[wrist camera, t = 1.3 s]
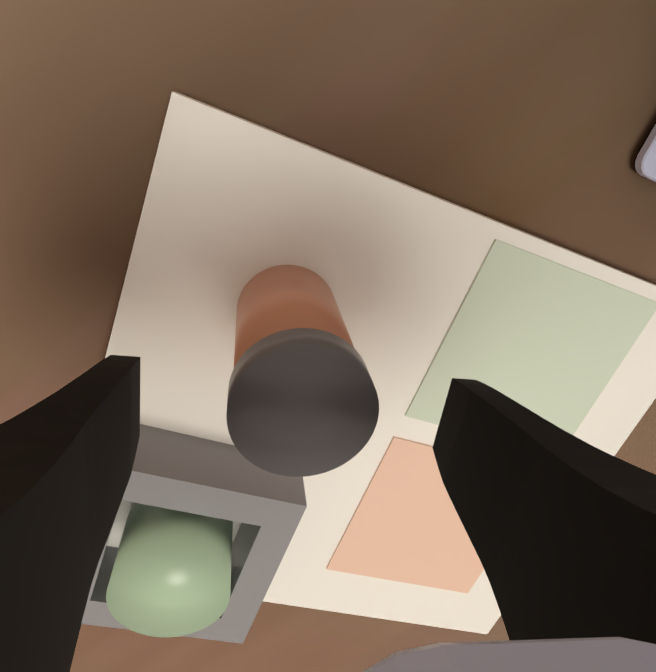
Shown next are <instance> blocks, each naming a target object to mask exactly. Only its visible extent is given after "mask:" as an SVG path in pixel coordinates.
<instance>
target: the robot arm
mask: <svg viewBox="0 0 656 672" xmlns="http://www.w3.org/2000/svg"><path fill="white" fill-rule="evenodd" d="M635 169H636V171H637V173H638V174H640V175H641V176H643V177H645V178H647V179H649V180H651V181H653V182H656V124H655V126H654V128H653V129H652V131H651V133H650V135H649V136H648V138H647V140H646V141H645V143H644V145H643V147H642V148H641V150H640V152H639V154H638V155H637V158H636V160H635ZM139 437H140V357H135V356H121V355H110V356H108V357H106V358H105V359H103V360H102V361H101V362H99V363H98V364H96V365H95V366H93V367H92V368H91V369H89V370H88V371H86V372H85V373H84V374H82V375H81V376H79V377H78V378H76V379H75V380H73V381H72V382H70V383H69V384H67V385H66V386H64V387H63V388H62V389H60V390H59V391H57V392H56V393H54V394H52V395H51V396H49V397H47V398H46V399H44V400H42V401H41V402H39V403H37V404H36V405H34V406H32V407H31V408H29V409H27V410H26V411H24V412H22V413H21V414H19V415H17V416H15V417H13V418H12V419H10V420H8V421H6V422H4V423H2V424H0V672H70V668H71V663H72V659H73V655H74V651H75V647H76V643H77V639H78V635H79V631H80V627H81V623H82V619H83V615H84V611H85V607H86V603H87V600H88V596H89V592H90V588H91V584H92V581H93V578H94V575H95V572H96V569H97V566H98V563H99V560H100V557H101V555H102V552H103V549H104V547H105V544H106V541H107V539H108V536H109V533H110V530H111V528H112V525H113V522H114V520H115V517H116V514H117V512H118V509H119V506H120V504H121V501H122V498H123V496H124V493H125V490H126V487H127V485H128V482H129V479H130V476H131V473H132V469H133V464H134V460H135V455H136V451H137V446H138V442H139ZM432 448H433V451H434V455H435V459H436V462H437V466H438V469H439V472H440V475H441V478H442V481H443V484H444V486H445V488H446V490H447V493H448V495H449V497H450V499H451V501H452V503H453V505H454V507H455V510H456V512H457V514H458V516H459V518H460V520H461V522H462V524H463V526H464V528H465V530H466V532H467V534H468V536H469V538H470V541H471V543H472V545H473V547H474V549H475V551H476V553H477V555H478V557H479V559H480V561H481V563H482V566H483V568H484V570H485V573H486V575H487V577H488V579H489V582H490V585H491V587H492V590H493V593H494V596H495V599H496V601H497V604H498V607H499V610H500V613H501V615H502V618H503V621H504V624H505V627H506V630H507V633H508V636H509V639H510V640H508V641H478V642H448V643H435V644H431V645H426V646H421V647H416V648H412V649H407V650H402V651H397V652H395V653H393V654H391V655H390V656H388V657H386V658H385V659H383V660H381V661H380V662H378V663H376V664H375V665H373V666H371V667H370V668H368V669H366V670H365V671H363V672H656V475H655V474H652V473H650V472H648V471H645V470H643V469H641V468H638V467H636V466H634V465H632V464H629V463H627V462H625V461H623V460H621V459H619V458H617V457H614V456H612V455H610V454H608V453H606V452H604V451H602V450H600V449H598V448H596V447H594V446H592V445H590V444H588V443H586V442H584V441H583V440H581V439H579V438H577V437H575V436H574V435H572V434H570V433H568V432H566V431H564V430H563V429H561V428H559V427H557V426H556V425H554V424H552V423H551V422H549V421H547V420H546V419H544V418H542V417H540V416H539V415H537V414H536V413H534V412H532V411H531V410H529V409H527V408H526V407H524V406H522V405H521V404H519V403H517V402H516V401H514V400H512V399H511V398H509V397H507V396H506V395H504V394H502V393H501V392H499V391H497V390H495V389H494V388H492V387H490V386H488V385H486V384H484V383H482V382H480V381H477V380H473V379H458V378H452V380H451V384H450V387H449V391H448V394H447V398H446V401H445V405H444V408H443V412H442V415H441V419H440V422H439V426H438V430H437V433H436V437H435V440H434V444H433V447H432Z"/></svg>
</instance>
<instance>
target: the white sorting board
mask: <svg viewBox="0 0 656 672" xmlns="http://www.w3.org/2000/svg"><path fill="white" fill-rule="evenodd" d="M277 265H297V266H301V267H305V268H307V269H309V270H311V271H313V272H315V273H316V274H318V275H319V276H320V277H321V278H322V279H323V280H324V281H325V282H326V283H327V284H328V286H329V287H330V289H331V291H332V293H333V296H334V298H335V301H336V303H337V306H338V308H339V311H340V313H341V316H342V318H343V321H344V323H345V326H346V328H347V331H348V333H349V336H350V338H351V341H352V343H353V346H354V348H355V349H356V350H357V352H358V353H359V354H360V356H361V357H362V359H363V361H364V362H365V364H366V367H367V369H368V372H369V374H370V376H371V379H372V381H373V384H374V386H375V389H376V391H377V395H378V400H379V416H378V421H377V425H376V427H375V430H374V432H373V434H372V436H371V438H370V440H369V441H368V443H367V444H366V445H365V446H364V448H363V449H362V450H361V451H360V452H359V453H358V454H357V455H356V456H355V457H353V458H352V459H351V460H349V461H348V462H346V463H345V464H343V465H342V466H340V467H338V468H336V469H333V470H331V471H328V472H325V473H322V474H318V475H313V476H305V477H290V476H283V475H277V474H274V473H270V472H268V471H265V470H263V469H261V468H259V467H257V466H255V465H254V464H252V463H251V462H250V461H248V460H247V459H246V458H245V457H244V456H243V455H242V454H241V453H240V452H239V451H238V449H237V448H236V447H235V445H234V443H233V442H232V440H231V437H230V435H229V432H228V427H227V418H226V413H227V398H228V387H229V381H230V377H231V374H232V372H233V369H234V352H235V333H236V315H237V303H238V300H239V296H240V294H241V292H242V290H243V288H244V287H245V285H246V284H247V283H248V282H249V281H250V280H251V279H252V278H253V277H254V276H255V275H257V274H258V273H259V272H261V271H263V270H265V269H267V268H270V267H274V266H277ZM110 355H121V356H135V357H140V437H139V442H138V446H137V451H136V455H135V460H134V464H133V469H132V473H131V476H130V479H129V482H128V485H127V487H126V490H125V493H124V496H123V498H122V501H121V504H120V506H119V509H118V512H117V514H116V517H115V520H114V522H113V525H112V528H111V530H110V533H109V536H108V539H107V541H106V544H105V547H104V549H103V552H102V555H101V557H100V560H99V563H98V566H97V569H96V572H95V575H94V578H93V581H92V584H91V588H90V592H89V596H88V600H87V603H86V607H85V611H84V615H83V619H82V623H81V624H88V625H96V626H104V627H112V628H120V629H128V628H126V627H125V626H123V625H122V624H120V623H119V622H118V621H117V620H116V619H115V618H114V617H113V616H112V614H111V612H110V611H109V609H108V606H107V602H106V592H107V588H108V584H109V581H110V577H111V573H112V570H113V566H114V563H115V559H116V556H117V552H118V549H119V545H120V541H121V538H122V534H123V531H124V527H125V524H126V520H127V517H128V514H129V512H130V510H131V508H132V507H133V506H134V504H135V503H140V504H145V505H150V506H156V507H161V508H166V509H172V510H177V511H182V512H188V513H193V514H198V515H204V516H209V517H214V518H220V519H225V520H230V521H233V535H232V562H231V590H230V600H229V603H228V606H227V608H226V610H225V611H224V613H223V614H222V615H221V616H220V617H219V618H218V619H217V620H216V621H215V622H214V623H212V624H211V625H209V626H208V627H206V628H204V629H202V630H200V631H197V632H194V633H191V634H188V635H183V636H185V637H193V638H201V639H209V640H217V641H225V642H234V643H242V644H243V642H244V640H245V638H246V636H247V633H248V631H249V629H250V627H251V625H252V623H253V621H254V618H255V616H256V614H257V612H258V610H259V608H260V606H261V604H262V601H265V602H272V603H279V604H286V605H292V606H299V607H306V608H313V609H320V610H326V611H333V612H340V613H347V614H353V615H360V616H367V617H374V618H380V619H387V620H394V621H401V622H408V623H414V624H421V625H428V626H435V627H441V628H448V629H455V630H462V631H469V632H475V633H482V634H488V632H489V631H490V630H491V628H492V627H493V625H494V624H495V623H496V621H497V620H498V618H499V617H500V616H501V613H500V610H499V607H498V604H497V601H496V599H495V596H494V593H493V590H492V587H491V585H490V582H489V579H488V577H487V575H486V573H485V570H484V568H483V566H482V563H481V561H480V559H479V557H478V555H477V553H476V551H475V549H474V547H473V545H472V543H471V541H470V538H469V536H468V534H467V532H466V530H465V528H464V526H463V524H462V522H461V520H460V518H459V516H458V514H457V512H456V510H455V507H454V505H453V503H452V501H451V499H450V497H449V495H448V493H447V490H446V488H445V486H444V484H443V481H442V478H441V475H440V472H439V469H438V466H437V462H436V459H435V455H434V451H433V448H432V447H433V444H434V440H435V437H436V433H437V430H438V426H439V422H440V419H441V415H442V412H443V408H444V405H445V401H446V398H447V394H448V391H449V387H450V384H451V380H452V378H458V379H473V380H477V381H480V382H482V383H484V384H486V385H488V386H490V387H492V388H494V389H495V390H497V391H499V392H501V393H502V394H504V395H506V396H507V397H509V398H511V399H512V400H514V401H516V402H517V403H519V404H521V405H522V406H524V407H526V408H527V409H529V410H531V411H532V412H534V413H536V414H537V415H539V416H540V417H542V418H544V419H546V420H547V421H549V422H551V423H552V424H554V425H556V426H557V427H559V428H561V429H563V430H564V431H566V432H568V433H570V434H572V435H574V436H575V437H577V438H579V439H581V440H583V441H584V442H586V443H588V444H590V445H592V446H594V447H596V448H598V449H600V450H602V451H604V452H606V453H608V454H610V455H612V456H615V454H616V453H617V451H618V450H619V449H620V447H621V446H622V444H623V443H624V442H625V440H626V439H627V437H628V436H629V435H630V433H631V432H632V430H633V429H634V428H635V426H636V425H637V423H638V422H639V421H640V419H641V418H642V416H643V415H644V414H645V412H646V411H647V409H648V408H649V407H650V405H651V404H652V402H653V401H654V400H655V398H656V284H653V283H651V282H648V281H646V280H643V279H641V278H638V277H636V276H633V275H631V274H628V273H626V272H623V271H621V270H618V269H616V268H614V267H611V266H609V265H606V264H604V263H601V262H599V261H596V260H594V259H591V258H589V257H586V256H584V255H581V254H579V253H576V252H574V251H571V250H569V249H566V248H564V247H561V246H559V245H556V244H554V243H551V242H549V241H546V240H544V239H541V238H539V237H536V236H534V235H532V234H529V233H527V232H524V231H522V230H519V229H517V228H514V227H512V226H509V225H507V224H504V223H502V222H499V221H497V220H494V219H492V218H489V217H487V216H484V215H482V214H479V213H477V212H474V211H472V210H469V209H467V208H464V207H462V206H459V205H457V204H454V203H452V202H450V201H447V200H445V199H442V198H440V197H437V196H435V195H432V194H430V193H427V192H425V191H422V190H420V189H417V188H415V187H412V186H410V185H407V184H405V183H402V182H400V181H397V180H395V179H392V178H390V177H387V176H385V175H382V174H380V173H377V172H375V171H372V170H370V169H368V168H365V167H363V166H360V165H358V164H355V163H353V162H350V161H348V160H345V159H343V158H340V157H338V156H335V155H333V154H330V153H328V152H325V151H323V150H320V149H318V148H315V147H313V146H310V145H308V144H305V143H303V142H300V141H298V140H295V139H293V138H290V137H288V136H286V135H283V134H281V133H278V132H276V131H273V130H271V129H268V128H266V127H263V126H261V125H258V124H256V123H253V122H251V121H248V120H246V119H243V118H241V117H238V116H236V115H233V114H231V113H228V112H226V111H223V110H221V109H218V108H216V107H213V106H211V105H208V104H206V103H204V102H201V101H199V100H196V99H194V98H191V97H189V96H186V95H184V94H181V93H179V92H176V91H174V92H172V94H171V98H170V102H169V106H168V110H167V114H166V118H165V122H164V126H163V129H162V133H161V137H160V141H159V145H158V149H157V153H156V157H155V161H154V165H153V169H152V173H151V177H150V181H149V185H148V189H147V193H146V197H145V201H144V205H143V209H142V213H141V217H140V221H139V225H138V229H137V233H136V237H135V241H134V245H133V249H132V253H131V257H130V261H129V265H128V269H127V273H126V277H125V281H124V285H123V289H122V293H121V297H120V301H119V305H118V309H117V313H116V317H115V321H114V325H113V329H112V333H111V336H110V340H109V344H108V348H107V352H106V356H105V358H106V357H108V356H110ZM128 630H130V629H128Z"/></svg>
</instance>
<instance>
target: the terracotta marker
mask: <svg viewBox="0 0 656 672" xmlns="http://www.w3.org/2000/svg"><path fill="white" fill-rule="evenodd" d="M378 416H379V400H378V395H377V391H376V389H375V386H374V384H373V381H372V379H371V376H370V374H369V372H368V369H367V367H366V364H365V362H364V361H363V359H362V357H361V356H360V354H359V353H358V352H357V350H356V349H355V348H354V346H353V343H352V341H351V338H350V336H349V333H348V331H347V328H346V326H345V323H344V321H343V318H342V316H341V313H340V311H339V308H338V306H337V303H336V301H335V298H334V296H333V293H332V291H331V289H330V287H329V286H328V284H327V283H326V282H325V281H324V280H323V279H322V278H321V277H320V276H319V275H318V274H316V273H315V272H313V271H311V270H309V269H307V268H305V267H301V266H297V265H277V266H274V267H270V268H267V269H265V270H263V271H261V272H259V273H258V274H257V275H255V276H254V277H253V278H252V279H251V280H250V281H249V282H248V283H247V284H246V285H245V287H244V288H243V290H242V292H241V294H240V296H239V300H238V303H237V315H236V333H235V352H234V369H233V372H232V374H231V377H230V381H229V387H228V398H227V413H226V418H227V427H228V432H229V435H230V437H231V440H232V442H233V443H234V445H235V447H236V448H237V449H238V451H239V452H240V453H241V454H242V455H243V456H244V457H245V458H246V459H247V460H248V461H250V462H251V463H252V464H254V465H255V466H257V467H259V468H261V469H263V470H265V471H268V472H270V473H274V474H277V475H283V476H290V477H305V476H313V475H318V474H322V473H325V472H328V471H331V470H333V469H336V468H338V467H340V466H342V465H343V464H345V463H346V462H348V461H349V460H351V459H352V458H353V457H355V456H356V455H357V454H358V453H359V452H360V451H361V450H362V449H363V448H364V446H365V445H366V444H367V443H368V441H369V440H370V438H371V436H372V434H373V432H374V430H375V427H376V425H377V421H378Z"/></svg>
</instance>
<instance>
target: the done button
mask: <svg viewBox="0 0 656 672" xmlns="http://www.w3.org/2000/svg"><path fill="white" fill-rule="evenodd" d="M232 535H233V521H230V520H225V519H220V518H214V517H209V516H204V515H198V514H193V513H188V512H182V511H177V510H172V509H166V508H161V507H156V506H150V505H145V504H140V503H135V504H134V506H133V507H132V508H131V510H130V512H129V514H128V517H127V520H126V524H125V527H124V531H123V534H122V538H121V541H120V545H119V549H118V552H117V556H116V559H115V563H114V566H113V570H112V573H111V577H110V581H109V584H108V588H107V592H106V602H107V606H108V609H109V611H110V612H111V614H112V616H113V617H114V618H115V619H116V620H117V621H118V622H119V623H120V624H122V625H123V626H125V627H126V628H128V629H130V630H132V631H134V632H137V633H140V634H144V635H148V636H154V637H178V636H183V635H188V634H191V633H194V632H197V631H200V630H202V629H204V628H206V627H208V626H209V625H211V624H212V623H214V622H215V621H216V620H217V619H218V618H219V617H220V616H221V615H222V614H223V613H224V611H225V610H226V608H227V606H228V603H229V600H230V590H231V562H232Z"/></svg>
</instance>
